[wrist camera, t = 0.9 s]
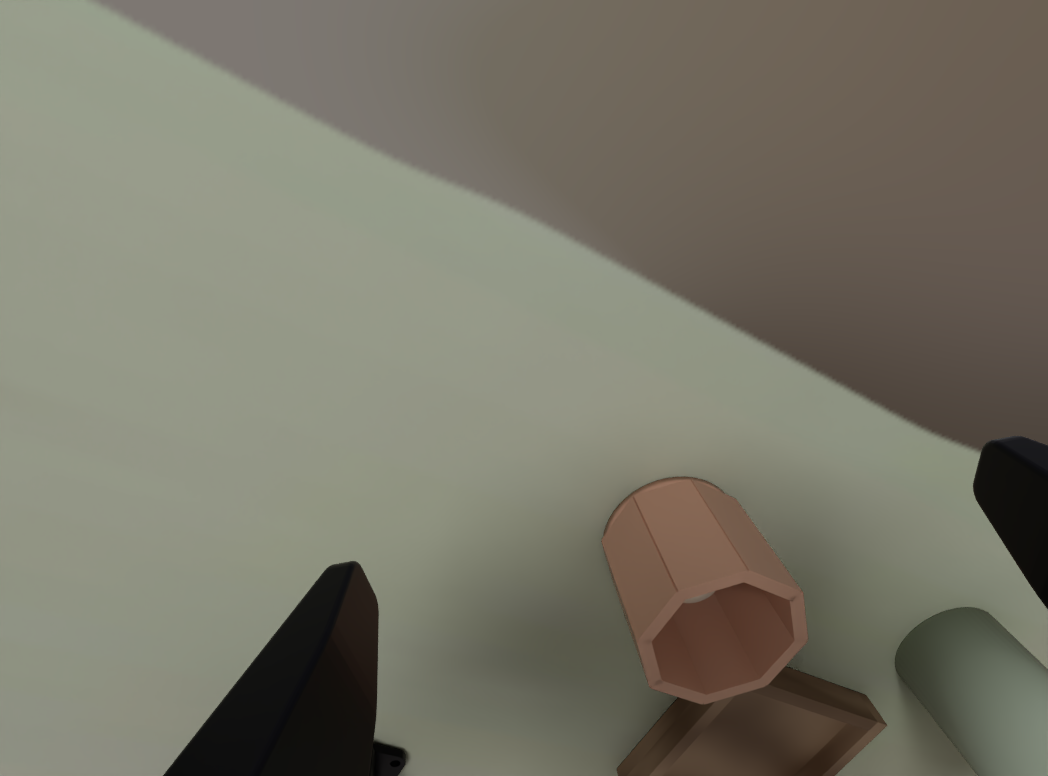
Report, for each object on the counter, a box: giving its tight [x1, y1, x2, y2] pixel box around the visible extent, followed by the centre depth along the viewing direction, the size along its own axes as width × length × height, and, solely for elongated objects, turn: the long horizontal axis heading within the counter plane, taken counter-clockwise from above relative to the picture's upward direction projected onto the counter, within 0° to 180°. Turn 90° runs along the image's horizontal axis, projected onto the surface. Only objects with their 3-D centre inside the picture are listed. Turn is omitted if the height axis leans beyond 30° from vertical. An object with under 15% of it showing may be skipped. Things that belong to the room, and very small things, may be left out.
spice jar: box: [895, 607, 1048, 776], centre depth 28 cm, size 6×6×11 cm
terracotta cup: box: [601, 477, 808, 705], centre depth 25 cm, size 6×6×6 cm
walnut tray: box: [617, 666, 887, 776], centre depth 33 cm, size 10×10×2 cm
